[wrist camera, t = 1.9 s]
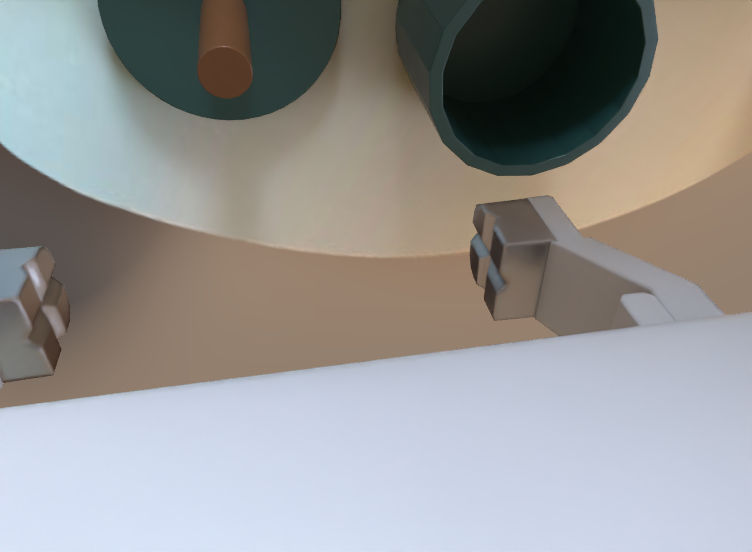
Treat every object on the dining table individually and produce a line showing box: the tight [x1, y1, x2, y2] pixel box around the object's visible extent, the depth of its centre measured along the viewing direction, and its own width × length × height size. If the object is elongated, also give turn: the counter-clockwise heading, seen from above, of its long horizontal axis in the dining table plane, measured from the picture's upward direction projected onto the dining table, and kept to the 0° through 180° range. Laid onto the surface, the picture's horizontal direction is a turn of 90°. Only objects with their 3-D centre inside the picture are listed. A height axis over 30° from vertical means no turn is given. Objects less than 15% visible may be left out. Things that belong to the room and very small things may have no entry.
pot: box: [396, 0, 658, 176], centre depth 40 cm, size 14×14×10 cm
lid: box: [98, 0, 341, 120], centre depth 36 cm, size 15×15×10 cm
